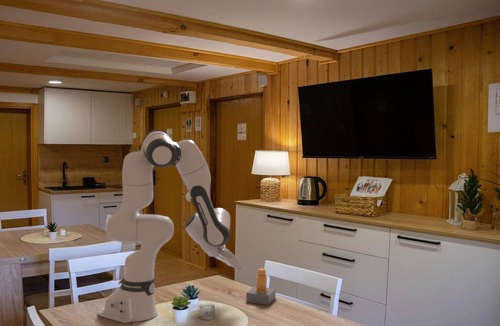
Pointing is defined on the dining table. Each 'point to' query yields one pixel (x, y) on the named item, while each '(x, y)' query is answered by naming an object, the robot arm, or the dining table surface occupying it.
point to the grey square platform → (260, 296)
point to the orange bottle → (261, 280)
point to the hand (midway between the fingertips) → (235, 267)
